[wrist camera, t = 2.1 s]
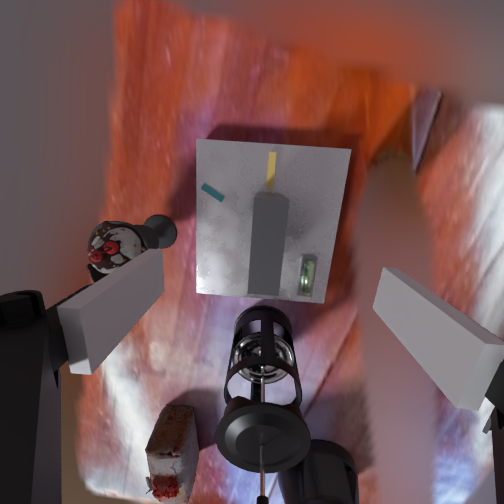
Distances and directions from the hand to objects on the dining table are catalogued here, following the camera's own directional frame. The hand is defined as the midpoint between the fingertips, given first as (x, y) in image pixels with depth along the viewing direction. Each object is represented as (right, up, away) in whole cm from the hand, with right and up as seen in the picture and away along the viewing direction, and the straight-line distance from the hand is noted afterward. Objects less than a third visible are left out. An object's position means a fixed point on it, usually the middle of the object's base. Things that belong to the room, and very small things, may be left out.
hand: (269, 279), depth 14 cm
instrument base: (+1, +5, +19) cm, 20 cm away
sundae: (-14, +5, +20) cm, 25 cm away
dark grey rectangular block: (+1, +7, +15) cm, 16 cm away
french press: (+1, -12, +24) cm, 27 cm away
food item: (-15, -33, +32) cm, 48 cm away
